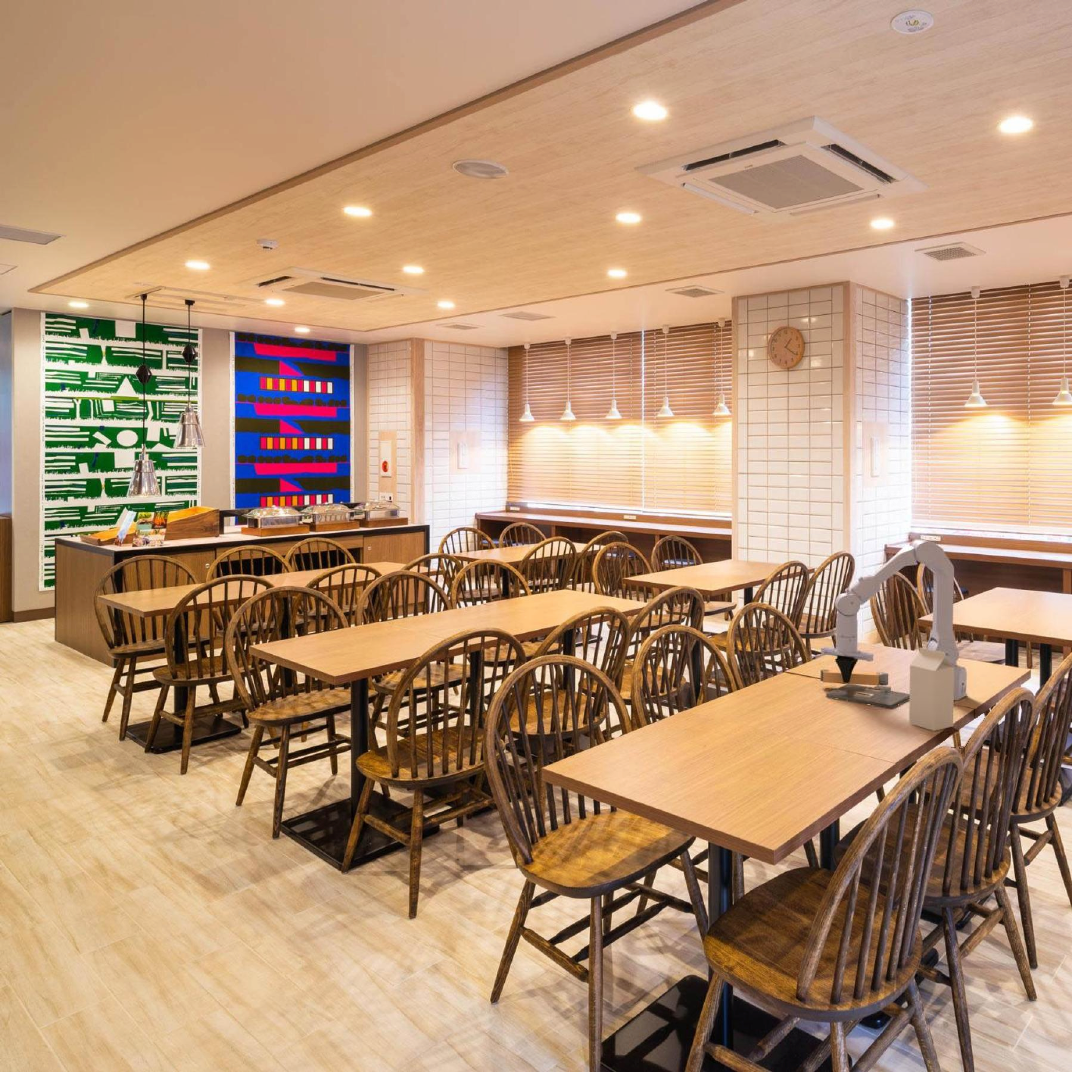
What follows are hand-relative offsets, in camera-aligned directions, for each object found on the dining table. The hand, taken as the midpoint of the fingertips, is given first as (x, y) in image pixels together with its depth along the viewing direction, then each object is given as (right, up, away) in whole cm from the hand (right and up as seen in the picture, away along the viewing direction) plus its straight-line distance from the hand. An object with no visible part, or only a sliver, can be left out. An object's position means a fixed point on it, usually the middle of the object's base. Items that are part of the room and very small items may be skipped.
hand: (846, 682), depth 237 cm
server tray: (+5, -3, -4) cm, 8 cm away
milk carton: (+9, -5, -31) cm, 33 cm away
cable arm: (+3, 0, +3) cm, 4 cm away
